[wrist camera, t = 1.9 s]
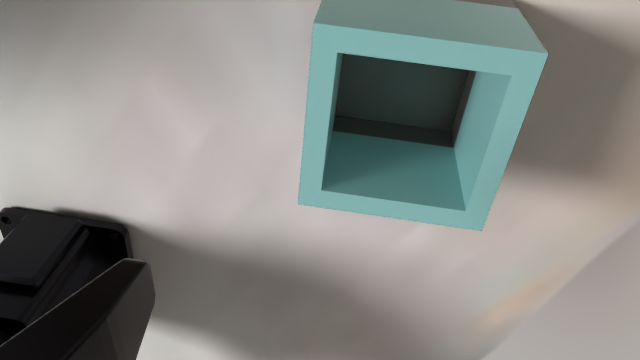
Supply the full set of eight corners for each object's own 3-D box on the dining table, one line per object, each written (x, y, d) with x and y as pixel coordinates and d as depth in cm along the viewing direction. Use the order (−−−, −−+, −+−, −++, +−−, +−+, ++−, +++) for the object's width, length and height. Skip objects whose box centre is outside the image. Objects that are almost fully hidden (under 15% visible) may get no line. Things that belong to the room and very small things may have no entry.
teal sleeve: (464, 149, 20) (481, 230, 16) (316, 128, 21) (297, 204, 16) (510, -3, 17) (548, 53, 13) (332, -26, 17) (313, 22, 13)
